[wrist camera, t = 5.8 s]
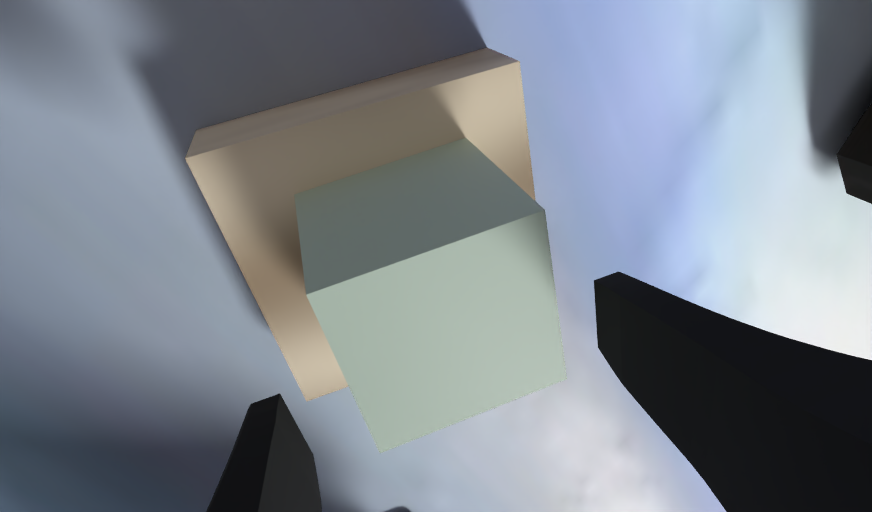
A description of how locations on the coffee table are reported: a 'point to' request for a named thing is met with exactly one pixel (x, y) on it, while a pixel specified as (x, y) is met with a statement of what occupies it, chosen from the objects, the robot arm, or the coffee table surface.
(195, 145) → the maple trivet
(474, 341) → the sage cube
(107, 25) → the coffee table surface
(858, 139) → the black rectangular box
